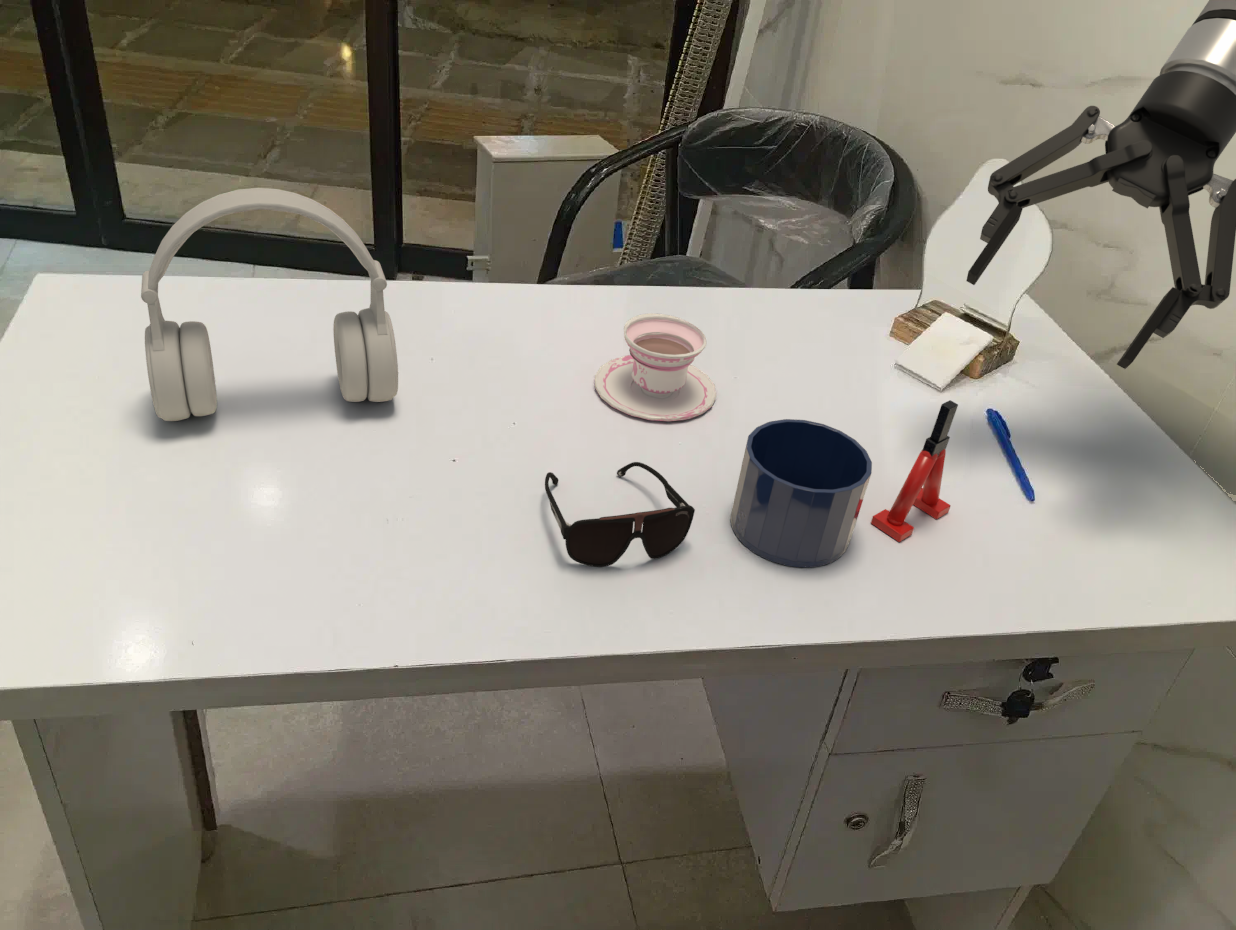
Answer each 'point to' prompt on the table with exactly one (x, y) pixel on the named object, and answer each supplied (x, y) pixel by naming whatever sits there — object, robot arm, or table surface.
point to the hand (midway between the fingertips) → (1045, 320)
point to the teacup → (658, 371)
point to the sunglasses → (624, 528)
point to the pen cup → (799, 492)
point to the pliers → (921, 481)
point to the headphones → (185, 351)
